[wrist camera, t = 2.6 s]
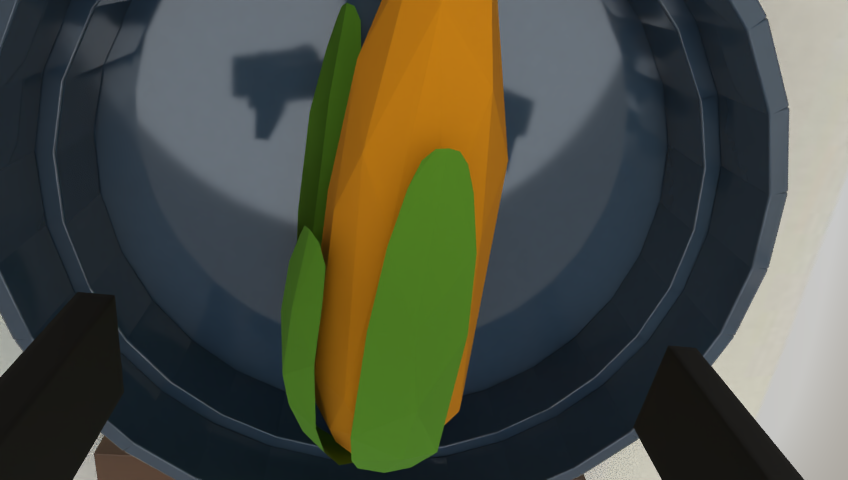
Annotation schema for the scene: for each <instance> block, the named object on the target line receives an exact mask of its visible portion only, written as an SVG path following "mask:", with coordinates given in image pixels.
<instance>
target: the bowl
mask: <svg viewBox="0 0 848 480" xmlns="http://www.w3.org/2000/svg"><path fill="white" fill-rule="evenodd" d="M381 1H382V0H0V313H1V315H2V317H3V319H4V321H5V323H6V325H7V327H8V329H9V331H10V333H11V335H12V337H13V339H14V340H15V342H16V343H17V344H18V346H19V347H20V348H21V349H22V351H23V352H24V351H25V350H26V348H27V347H28V346H29V345H30V344H31V343H32V342H33V341H34V340H35V338H36V337H37V336H38V335H39V334H40V333H41V332H42V331H43V330H44V329H45V327H46V326H47V325H48V324H49V323H50V322H51V321H52V320H53V319H54V317H55V316H56V315H57V314H58V313H59V312H60V311H61V310H62V309H63V307H64V306H65V305H66V304H67V303H68V302H69V301H70V300H71V299H72V298H73V296H74V295H75V294H76V293H77V292H85V293H96V294H107V295H115V301H116V312H117V322H118V333H119V343H120V354H121V364H122V375H123V385H124V393H123V395H122V396H121V398H120V400H119V402H118V403H117V405H116V407H115V408H114V410H113V412H112V413H111V415H110V417H109V419H108V420H107V422H106V424H105V425H104V427H103V429H102V430H101V433H102V434H103V435H104V436H106V437H107V438H108V439H109V440H110V441H112V442H113V443H114V444H115V445H116V446H118V447H119V448H120V449H121V450H124V451H125V452H126V453H128V454H130V455H132V456H134V457H135V458H137V459H139V460H141V461H143V462H144V463H146V464H148V465H150V466H151V467H153V468H155V469H157V470H159V471H160V472H162V473H164V474H166V475H168V476H169V477H171V478H173V479H175V480H572V479H575V478H577V477H579V476H581V475H583V474H584V473H586V472H587V471H589V470H591V469H592V468H594V467H595V466H597V465H599V464H600V463H602V462H603V461H605V460H606V459H608V458H610V457H611V456H613V455H614V454H616V453H617V452H619V451H621V450H622V449H624V448H625V447H627V446H629V445H630V444H632V443H633V442H635V441H636V440H638V438H639V437H638V435H637V433H636V431H635V429H634V428H633V426H634V424H635V422H636V419H637V417H638V415H639V412H640V410H641V408H642V405H643V403H644V401H645V398H646V396H647V394H648V391H649V389H650V387H651V384H652V382H653V380H654V377H655V375H656V373H657V370H658V368H659V366H660V363H661V361H662V359H663V356H664V354H665V352H666V349H667V347H668V345H670V346H681V347H692V348H697V349H698V351H699V352H700V353H701V354H702V356H703V357H704V358H705V359H706V360H707V362H708V363H709V364H710V365H711V366H712V365H713V363H714V362H715V361H716V359H717V358H718V357H719V356H720V354H721V353H722V352H723V350H724V349H725V348H726V346H727V345H728V344H729V343H730V341H731V340H732V339H733V337H734V335H735V334H736V332H737V330H738V328H739V326H740V324H741V322H742V320H743V318H744V316H745V314H746V312H747V310H748V308H749V306H750V304H751V302H752V300H753V298H754V296H755V294H756V292H757V290H758V288H759V286H760V284H761V282H762V280H763V278H764V276H765V274H766V272H767V268H768V267H769V264H770V260H771V256H772V252H773V248H774V244H775V240H776V236H777V232H778V228H779V224H780V221H781V217H782V213H783V209H784V205H785V201H786V197H787V191H788V146H789V108H788V105H789V104H788V100H787V96H786V92H785V88H784V84H783V80H782V76H781V71H780V67H779V63H778V59H777V55H776V51H775V47H774V43H773V38H772V34H771V30H770V26H769V22H768V19H767V18H766V14H765V12H764V10H763V9H762V7H761V5H760V3H759V1H758V0H498V14H499V29H500V45H501V60H502V75H503V91H504V106H505V121H506V137H507V152H508V163H507V168H506V174H505V179H504V184H503V189H502V194H501V200H500V205H499V210H498V215H497V220H496V226H495V231H494V236H493V241H492V246H491V251H490V257H489V262H488V267H487V272H486V277H485V283H484V288H483V293H482V298H481V303H480V309H479V314H478V319H477V324H476V329H475V335H474V340H473V345H472V350H471V355H470V360H469V366H468V371H467V376H466V381H465V386H464V392H463V396H462V401H461V406H460V410H459V412H458V413H457V414H456V415H455V416H454V417H453V418H452V419H451V420H449V421H448V422H447V423H446V424H445V425H444V428H443V432H442V436H441V440H440V444H439V447H438V451H437V453H435V454H433V455H432V456H430V457H428V458H426V459H425V460H423V461H421V462H419V463H418V464H416V465H414V466H413V467H411V468H406V469H401V470H396V471H391V472H386V473H382V472H376V471H371V470H365V469H359V468H357V467H356V466H355V464H354V463H349V464H344V465H338V464H337V463H336V462H335V461H334V460H332V459H331V458H330V457H329V456H328V455H327V454H326V453H324V452H323V451H322V450H321V449H320V448H319V447H318V446H317V445H316V444H315V443H314V442H313V441H312V440H311V439H310V438H309V437H308V436H307V435H306V434H305V433H304V432H303V431H302V429H301V427H300V425H299V423H298V421H297V419H296V417H295V415H294V413H293V412H292V410H291V408H290V406H289V403H288V398H287V394H286V389H285V384H284V380H283V373H282V335H281V308H282V302H283V296H284V290H285V284H286V278H287V272H288V266H289V261H290V258H291V256H292V253H293V251H294V248H295V246H296V243H297V227H298V207H299V198H300V190H301V181H302V173H303V164H304V156H305V147H306V139H307V130H308V122H309V113H310V109H311V105H312V101H313V98H314V94H315V90H316V86H317V82H318V79H319V75H320V71H321V67H322V63H323V60H324V56H325V52H326V49H327V46H328V43H329V40H330V37H331V34H332V31H333V28H334V25H335V22H336V19H337V17H338V14H339V12H340V9H341V7H342V5H344V4H345V3H349V4H351V5H353V6H355V8H356V11H357V13H358V15H359V18H360V20H361V49H362V46H363V44H364V41H365V39H366V37H367V34H368V32H369V30H370V27H371V25H372V22H373V20H374V18H375V15H376V13H377V11H378V8H379V6H380V3H381ZM315 414H316V425H317V426H318V427H319V428H320V429H322V430H323V431H325V432H327V433H328V434H330V435H332V434H331V432H330V430H329V428H328V426H327V424H326V422H325V420H324V418H323V416H322V414H321V412H320V410H319V408H318V406H317V404H316V400H315Z"/></svg>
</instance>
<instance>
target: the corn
mask: <svg viewBox="0 0 848 480" xmlns="http://www.w3.org/2000/svg"><path fill="white" fill-rule="evenodd" d="M507 163H508V152H507V137H506V121H505V106H504V91H503V75H502V60H501V45H500V29H499V14H498V0H382V1H381V3H380V6H379V8H378V11H377V13H376V15H375V18H374V20H373V22H372V25H371V27H370V30H369V32H368V34H367V37H366V39H365V41H364V44H363V46H362V49H361V20H360V18H359V15H358V13H357V11H356V8H355V6H353V5H351V4H349V3H345V4H344V5H342V7H341V9H340V12H339V14H338V17H337V19H336V22H335V25H334V28H333V31H332V34H331V37H330V40H329V43H328V46H327V49H326V52H325V56H324V60H323V63H322V67H321V71H320V75H319V79H318V82H317V86H316V90H315V94H314V98H313V101H312V105H311V109H310V113H309V122H308V130H307V139H306V147H305V156H304V164H303V173H302V181H301V190H300V198H299V207H298V227H297V243H296V246H295V248H294V251H293V253H292V256H291V258H290V261H289V266H288V272H287V278H286V284H285V290H284V296H283V302H282V308H281V335H282V373H283V380H284V384H285V389H286V394H287V398H288V403H289V406H290V408H291V410H292V412H293V413H294V415H295V417H296V419H297V421H298V423H299V425H300V427H301V429H302V431H303V432H304V433H305V434H306V435H307V436H308V437H309V438H310V439H311V440H312V441H313V442H314V443H315V444H316V445H317V446H318V447H319V448H320V449H321V450H322V451H323V452H324V453H326V454H327V455H328V456H329V457H330V458H331V459H332V460H334V461H335V462H336V463H337V464H338V465H344V464H349V463H354V464H355V466H356V467H357V468H359V469H365V470H371V471H376V472H382V473H386V472H391V471H396V470H401V469H406V468H411V467H413V466H414V465H416V464H418V463H419V462H421V461H423V460H425V459H426V458H428V457H430V456H432V455H433V454H435V453H437V451H438V447H439V444H440V440H441V436H442V432H443V428H444V425H445V424H446V423H447V422H448V421H449V420H451V419H452V418H453V417H454V416H455V415H456V414H457V413H458V412H459V410H460V406H461V401H462V396H463V392H464V386H465V381H466V376H467V371H468V366H469V360H470V355H471V350H472V345H473V340H474V335H475V329H476V324H477V319H478V314H479V309H480V303H481V298H482V293H483V288H484V283H485V277H486V272H487V267H488V262H489V257H490V251H491V246H492V241H493V236H494V231H495V226H496V220H497V215H498V210H499V205H500V200H501V194H502V189H503V184H504V179H505V174H506V168H507ZM315 400H316V404H317V406H318V408H319V410H320V412H321V414H322V416H323V418H324V420H325V422H326V424H327V426H328V428H329V430H330V432H331V434H332V435H330V434H328V433H327V432H325V431H323V430H322V429H320V428H319V427H318V426H317V425H316V414H315Z"/></svg>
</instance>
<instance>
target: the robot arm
mask: <svg viewBox="0 0 848 480" xmlns="http://www.w3.org/2000/svg"><path fill="white" fill-rule="evenodd" d="M123 393H124V385H123V375H122V364H121V354H120V343H119V333H118V322H117V312H116V301H115V295H107V294H96V293H85V292H77V293H76V294H75V295H74V296H73V298H72V299H71V300H70V301H69V302H68V303H67V304H66V305H65V306H64V307H63V309H62V310H61V311H60V312H59V313H58V314H57V315H56V316H55V317H54V319H53V320H52V321H51V322H50V323H49V324H48V325H47V326H46V327H45V329H44V330H43V331H42V332H41V333H40V334H39V335H38V336H37V337H36V338H35V340H34V341H33V342H32V343H31V344H30V345H29V346H28V347H27V348H26V350H25V351H24V352H23V353H22V354H21V355H20V356H19V357H18V358H17V359H16V361H15V362H14V363H13V364H12V365H11V366H10V367H9V368H8V369H7V371H6V372H5V373H4V374H3V375H2V376H1V377H0V480H73V478H74V476H75V475H76V473H77V471H78V470H79V468H80V466H81V465H82V463H83V461H84V459H85V458H86V456H87V454H88V453H89V451H90V449H91V447H92V446H93V444H94V442H95V441H96V439H97V437H98V436H99V434H100V432H101V430H102V429H103V427H104V425H105V424H106V422H107V420H108V419H109V417H110V415H111V413H112V412H113V410H114V408H115V407H116V405H117V403H118V402H119V400H120V398H121V396H122V395H123ZM633 428H634V429H635V431H636V433H637V435H638V437H639V439H640V440H641V442H642V444H643V446H644V448H645V450H646V451H647V453H648V455H649V457H650V459H651V461H652V462H653V464H654V466H655V468H656V470H657V472H658V473H659V475H660V477H661V479H662V480H804V479H803V478H802V477H801V475H800V474H799V473H798V472H797V470H796V469H795V468H794V467H793V466H792V464H791V463H790V462H789V461H788V460H787V458H786V457H785V456H784V455H783V453H782V452H781V451H780V450H779V449H778V447H777V446H776V445H775V444H774V443H773V441H772V440H771V439H770V438H769V436H768V435H767V434H766V433H765V431H764V430H763V429H762V428H761V427H760V425H759V424H758V423H757V422H756V420H755V419H754V418H753V417H752V415H751V414H750V413H749V412H748V411H747V409H746V408H745V407H744V406H743V404H742V403H741V402H740V401H739V400H738V398H737V397H736V396H735V395H734V393H733V392H732V391H731V390H730V389H729V387H728V386H727V385H726V384H725V382H724V381H723V380H722V379H721V378H720V376H719V375H718V374H717V373H716V371H715V370H714V369H713V368H712V367H711V365H710V364H709V363H708V362H707V360H706V359H705V358H704V357H703V356H702V354H701V353H700V352H699V351H698V349H697V348H692V347H681V346H670V345H668V347H667V349H666V352H665V354H664V356H663V359H662V361H661V363H660V366H659V368H658V370H657V373H656V375H655V377H654V380H653V382H652V384H651V387H650V389H649V391H648V394H647V396H646V398H645V401H644V403H643V405H642V408H641V410H640V412H639V415H638V417H637V419H636V422H635V424H634V426H633Z"/></svg>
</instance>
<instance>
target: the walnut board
mask: <svg viewBox="0 0 848 480" xmlns="http://www.w3.org/2000/svg"><path fill="white" fill-rule="evenodd" d="M94 457H95V464H96V471H97V478H98V480H175V479H173V478H171V477H169V476H168V475H166V474H164V473H162V472H160V471H159V470H157V469H155V468H153V467H151V466H150V465H148V464H146V463H144V462H143V461H141V460H139V459H137V458H135V457H134V456H132V455H130V454H128V453H126V452H125V451H124V450H121V449H120V448H119V447H118V446H116V445H115V444H114V443H113V442H112V441H110V440H109V439H108V438H107V437H106V436H104V437H103V439H102V440H101V442H100V444H99V446H98V447H97V449H96V451H95V453H94ZM572 480H586V479H585V477H584V474H583V475H581V476H579V477H577V478H575V479H572Z"/></svg>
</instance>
